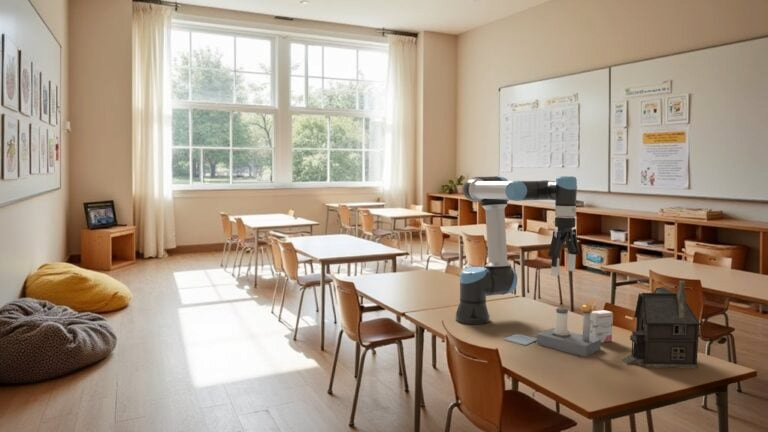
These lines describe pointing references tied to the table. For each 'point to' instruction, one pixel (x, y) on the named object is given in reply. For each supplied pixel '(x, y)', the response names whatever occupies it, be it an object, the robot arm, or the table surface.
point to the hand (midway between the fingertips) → (563, 273)
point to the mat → (520, 339)
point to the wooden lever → (589, 306)
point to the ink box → (601, 325)
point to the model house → (664, 331)
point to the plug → (561, 323)
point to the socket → (572, 340)
